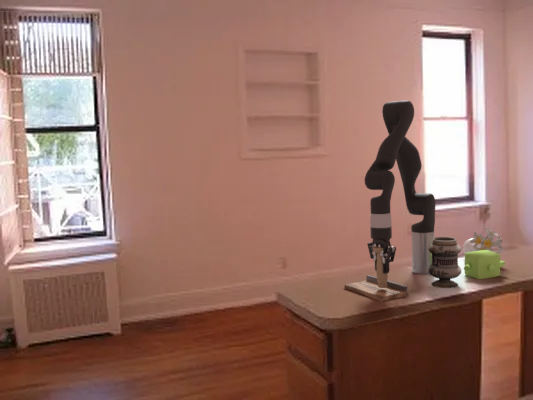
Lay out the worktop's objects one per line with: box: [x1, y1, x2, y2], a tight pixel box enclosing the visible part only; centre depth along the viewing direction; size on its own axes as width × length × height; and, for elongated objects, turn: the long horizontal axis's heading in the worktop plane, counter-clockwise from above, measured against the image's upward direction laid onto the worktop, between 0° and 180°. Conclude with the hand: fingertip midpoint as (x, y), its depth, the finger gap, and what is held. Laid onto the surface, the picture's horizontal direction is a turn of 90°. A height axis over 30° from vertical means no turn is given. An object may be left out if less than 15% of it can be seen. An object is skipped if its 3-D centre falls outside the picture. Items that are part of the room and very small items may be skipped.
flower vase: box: [462, 225, 504, 254], centre depth 249 cm, size 13×18×25 cm
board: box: [344, 274, 409, 302], centre depth 208 cm, size 12×22×4 cm, turn 28°
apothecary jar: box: [428, 236, 462, 289], centre depth 213 cm, size 12×12×18 cm
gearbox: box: [463, 250, 506, 280], centre depth 224 cm, size 18×10×10 cm, turn 107°
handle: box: [373, 247, 389, 288], centre depth 204 cm, size 5×6×15 cm
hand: (382, 271), depth 205 cm, fingers closed on handle, 4 cm apart
